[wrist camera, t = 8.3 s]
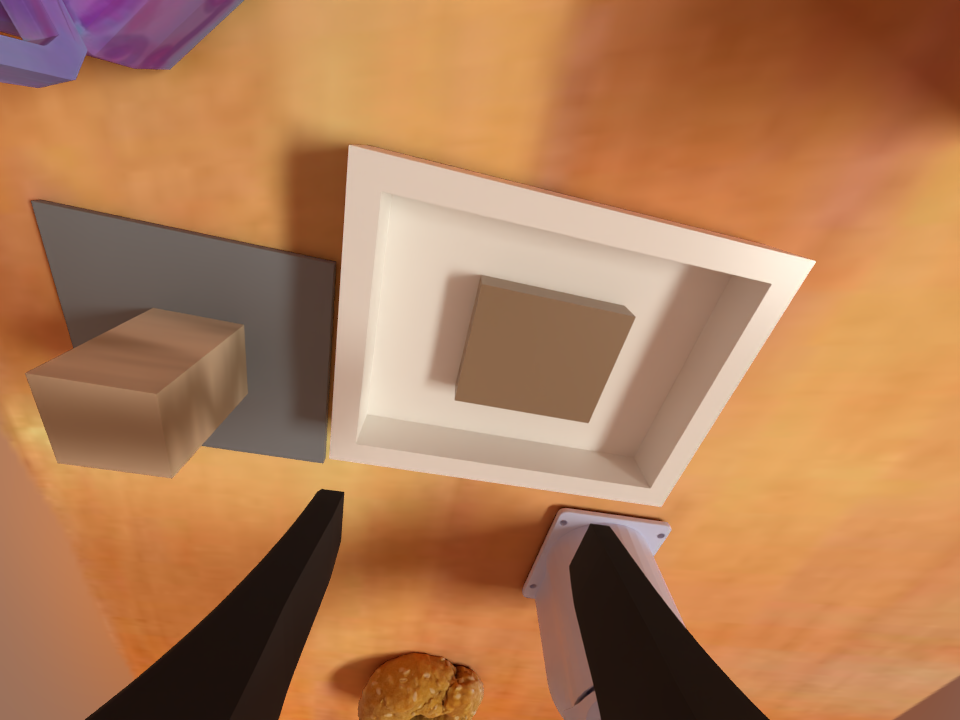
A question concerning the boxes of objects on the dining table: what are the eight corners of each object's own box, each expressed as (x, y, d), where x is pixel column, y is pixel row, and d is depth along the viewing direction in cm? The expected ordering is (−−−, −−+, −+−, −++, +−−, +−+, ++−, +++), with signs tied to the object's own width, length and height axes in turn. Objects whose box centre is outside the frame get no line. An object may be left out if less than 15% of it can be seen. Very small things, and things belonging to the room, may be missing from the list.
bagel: (481, 701, 39) (482, 767, 35) (370, 701, 39) (357, 768, 34) (486, 646, 34) (487, 715, 30) (359, 646, 34) (343, 715, 30)
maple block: (247, 393, 21) (172, 478, 15) (165, 379, 20) (57, 462, 15) (244, 324, 19) (156, 394, 13) (153, 307, 18) (25, 373, 13)
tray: (640, 468, 24) (661, 507, 22) (345, 421, 22) (329, 458, 19) (764, 244, 18) (815, 261, 15) (368, 144, 16) (348, 144, 13)
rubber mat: (325, 458, 23) (323, 463, 23) (103, 426, 22) (97, 430, 21) (336, 261, 18) (333, 264, 17) (40, 199, 16) (31, 200, 16)
